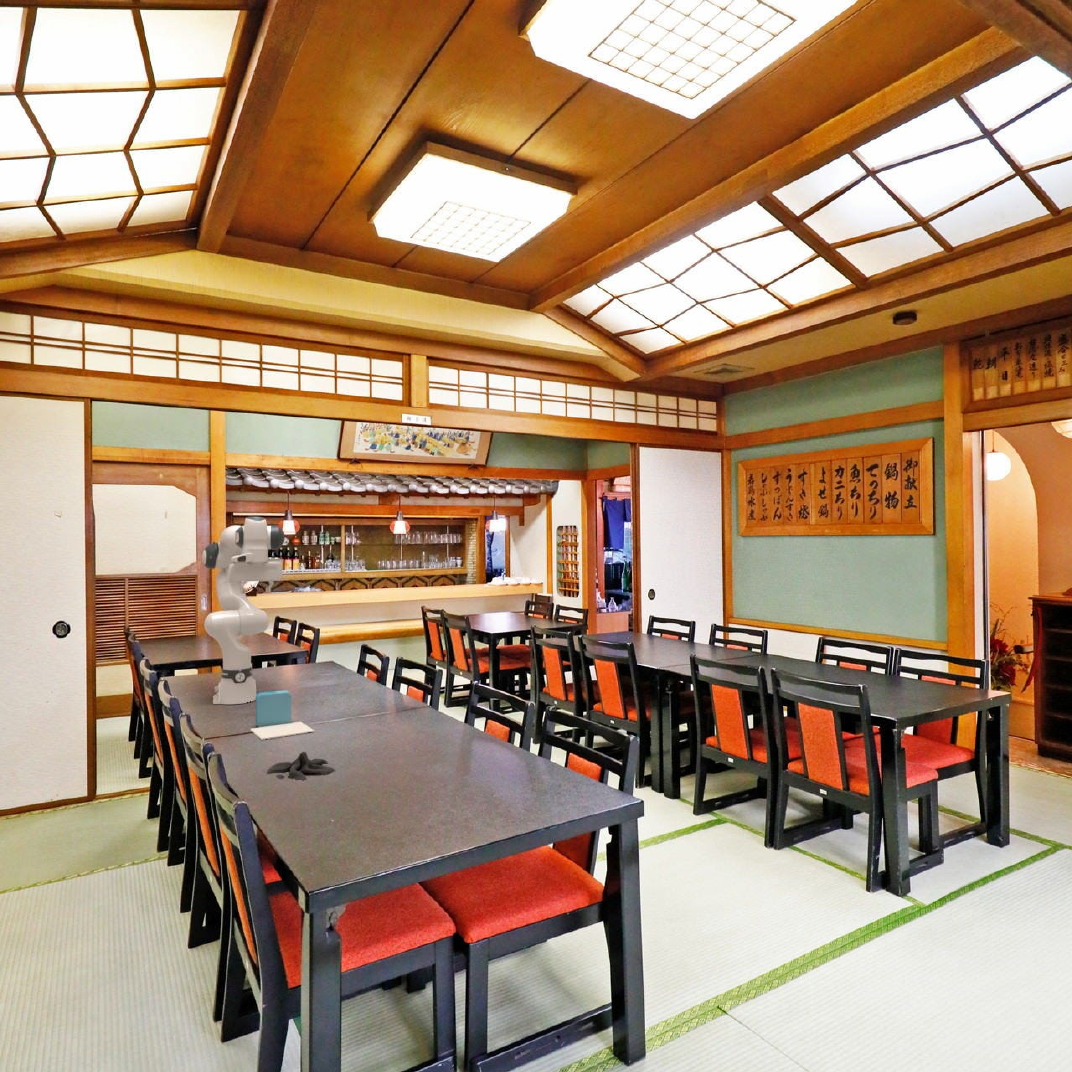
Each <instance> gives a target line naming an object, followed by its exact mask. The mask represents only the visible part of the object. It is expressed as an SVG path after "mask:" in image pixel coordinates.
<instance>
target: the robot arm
mask: <svg viewBox="0 0 1072 1072" xmlns="http://www.w3.org/2000/svg"><path fill="white" fill-rule="evenodd" d="M284 543H285V531H284V530H283V529H282V528H281V527H280V526H279V525H277V524H276V525H275V524H274V525H268V522H267V519H266V518H264V517H261V516H247V517H246V518H245V520H244V525H236V524H235V525H230V526H228V527H226V528H225V529H223V530H222V531H221V534H220V539H219V542H216V541H213V542H212V543H211V544H209V545H207V546H205V547H204V549H203V551H202V554H201V560H202V563H203V565H204V567H206V568H207V569H211V570H212V569H213V570H214V569H218V570H219V571H218V572H217V573H216V581H215V582H216V583H215V586H216V593H217V598H218V603H219V606H220V607H221V608H222V609H223V610H220V611H219V610H218V611H214V612H210V613H209V614H208V615H207V616H206V617H205V620H204V624H203V626H204V630H205V632H206V633H207V635H209V637H211V638H213V639H214V640H215V641H216V642H217V643H218V645H219V647H220V649H221V654H222V669H221V679H220V681H219V682H218V684H217V685H215V686H214V692H215V693H216V694H214V695H213V696H212V704H213V705H240V704H247V702H248V703H250V701H251V702H254V701H256V695H257V686H256V685H257V684H256V682H257V681H256V679H255V678H253V676H252V675H253V667H252V649H251V648H250V647H249V646H248V645H246V644H244V643H242V642H239V641H238V640H237V636H238V637H239V636H254V635H257V634H261V633H264V632H265V631H267V629H268V627H269V625H270V617H269V615H268V614H267V612H266V611H265V610H262V609H260V608H258V607H256V606H255V605H254V604H252V602H250V601H249V599H248V597H247V594H246V588H245V586H244V582H268V584H269V585H268V586H267V587H265V593H271V588H272V587H273V585H274V582H276V581H282V580H283V578H284V576H283V575H284V573H283V565H284V562H283V559H281V558H280V557H269V555H268V553H269V552H268V551H269V550H274V551H278V550H279V549H280V548H281V547H282V546H283V545H284Z"/></svg>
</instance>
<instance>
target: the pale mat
mask: <svg viewBox="0 0 1072 1072" xmlns="http://www.w3.org/2000/svg"><path fill="white" fill-rule="evenodd" d="M249 730H250V732H251V733H252V732H253V733H252V734H254V735H255V736H256V737H257V738H258V737H259V738H260V739H261V740H260V739H259V738H258V739H259V740H260V741H266V740H265V739H268V740H271V739H270V738H275V737H281V738H286V737H285V736H288V737H290V736H289V735H294V734H295V735H294V736H297V735H296V734H300V733H307V732H314V733H315V730H314V728H311V727H310V726H309V725H307V724H306V723H303V722H302V721H295V722H290V723H287V724H280V725H273V726H266V727H253V728H250V729H249ZM307 734H308V733H307ZM275 739H276V738H275Z"/></svg>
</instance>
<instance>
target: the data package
mask: <svg viewBox="0 0 1072 1072" xmlns="http://www.w3.org/2000/svg"><path fill="white" fill-rule="evenodd" d="M287 723H292V694H291V693H290V692H289V690H287V689H286V690H275V691H274V690H273V691H263V692H258V693H256V700H255V724H256V726H257V728H259V727H266V726H273V725H280V724H287Z"/></svg>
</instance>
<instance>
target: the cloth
mask: <svg viewBox="0 0 1072 1072" xmlns="http://www.w3.org/2000/svg"><path fill="white" fill-rule="evenodd" d="M322 764H329V762H328V760H325V759H323V758H313V759H310V758H309V757H308V754H307V752H306V751H302V752H300V753H299V754H298V756H297V758H296V759H295V760H294V761H292V762H290V761H283V762H276V763H275V764H273V765H271V766H270V767H269V768H268V769H267V771H266V773H265V774H266V775H271V774H277V775H276V778H277V779H278V780H282V779H283V780H284V779H285V775H284V776H283V774H287V773H286V772H289V773H288V775H289V776H288V775H287V776H288V777H287V779H290V780H293V779H295V780H294V781H298V780H302V781H301V782H304V780H305V781H307V780H308V778H307V777H306V775H316V774H319V775H318V776H321V775H324V776H326V774H327V775H329V774H331V772H332V773H334V772H336V771H335V770H336V769H334V768H333V767H331V766H327V765H322ZM333 771H334V772H333ZM306 779H307V780H306Z"/></svg>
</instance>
